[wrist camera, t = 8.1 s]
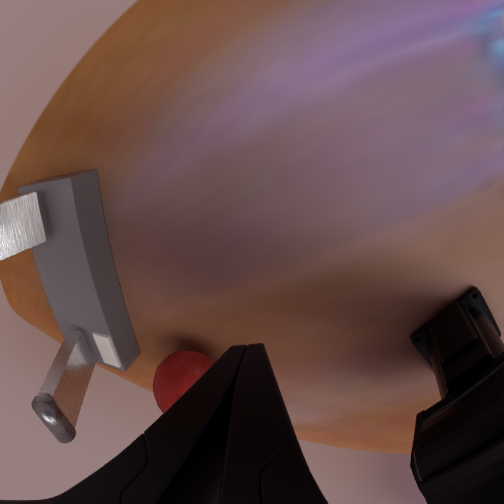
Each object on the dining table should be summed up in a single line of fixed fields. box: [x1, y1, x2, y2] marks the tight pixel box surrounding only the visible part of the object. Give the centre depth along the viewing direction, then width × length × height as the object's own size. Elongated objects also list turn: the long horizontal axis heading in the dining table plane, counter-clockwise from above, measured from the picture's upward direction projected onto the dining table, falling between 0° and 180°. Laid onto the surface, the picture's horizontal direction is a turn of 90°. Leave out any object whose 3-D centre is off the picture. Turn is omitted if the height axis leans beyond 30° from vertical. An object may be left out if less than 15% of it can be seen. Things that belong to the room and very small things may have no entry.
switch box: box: [18, 169, 140, 371], centre depth 24 cm, size 8×18×3 cm, turn 3°
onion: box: [153, 350, 215, 413], centre depth 22 cm, size 6×6×8 cm
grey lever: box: [32, 331, 96, 443], centre depth 20 cm, size 2×4×10 cm, turn 3°
